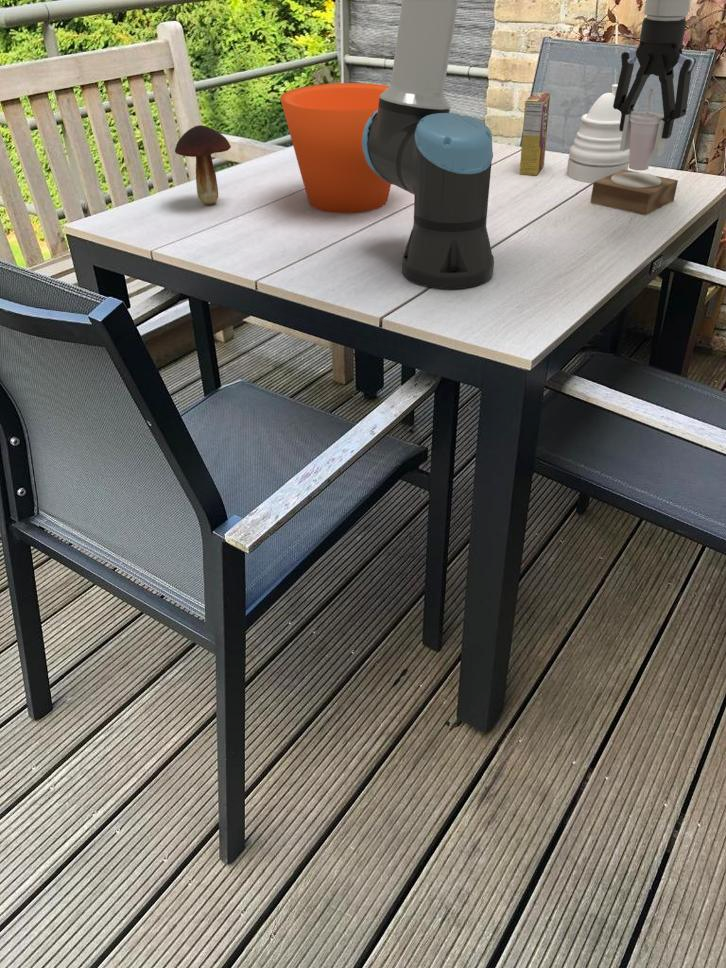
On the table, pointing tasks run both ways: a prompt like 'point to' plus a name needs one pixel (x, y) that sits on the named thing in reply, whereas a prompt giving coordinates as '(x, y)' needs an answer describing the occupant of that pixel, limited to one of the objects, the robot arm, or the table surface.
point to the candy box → (534, 133)
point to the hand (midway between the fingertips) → (641, 152)
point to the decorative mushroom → (203, 158)
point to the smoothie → (643, 137)
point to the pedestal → (634, 191)
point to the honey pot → (598, 143)
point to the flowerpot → (335, 145)
